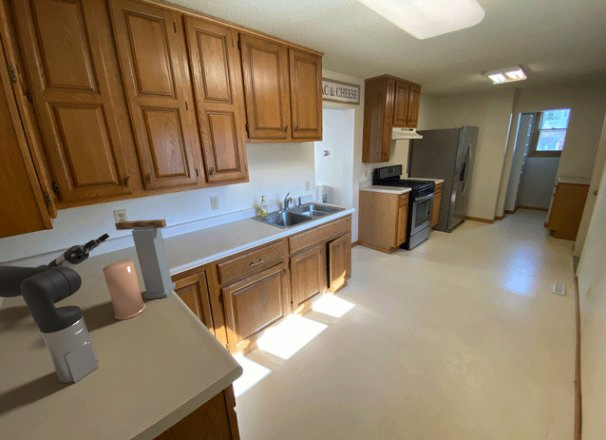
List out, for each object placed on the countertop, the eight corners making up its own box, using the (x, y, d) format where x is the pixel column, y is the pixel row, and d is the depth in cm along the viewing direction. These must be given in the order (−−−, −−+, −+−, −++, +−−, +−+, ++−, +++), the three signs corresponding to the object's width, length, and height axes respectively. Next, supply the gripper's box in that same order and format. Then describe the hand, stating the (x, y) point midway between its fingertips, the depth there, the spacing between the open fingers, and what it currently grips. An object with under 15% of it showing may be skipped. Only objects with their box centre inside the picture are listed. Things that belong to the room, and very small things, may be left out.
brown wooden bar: (166, 225, 113) (165, 219, 112) (163, 227, 110) (161, 221, 109) (121, 228, 113) (119, 221, 112) (116, 230, 110) (114, 223, 109)
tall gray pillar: (175, 285, 125) (162, 221, 116) (167, 297, 116) (152, 228, 107) (154, 287, 125) (140, 223, 116) (144, 299, 115) (127, 229, 106)
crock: (150, 307, 109) (140, 262, 103) (125, 322, 99) (111, 274, 94) (135, 301, 113) (124, 258, 107) (109, 316, 104) (95, 269, 98)
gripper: (90, 257, 120) (117, 239, 119) (66, 271, 107) (96, 251, 105) (78, 245, 118) (105, 226, 117) (51, 257, 105) (82, 236, 103)
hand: (101, 238), depth 111 cm, fingers open, 8 cm apart
